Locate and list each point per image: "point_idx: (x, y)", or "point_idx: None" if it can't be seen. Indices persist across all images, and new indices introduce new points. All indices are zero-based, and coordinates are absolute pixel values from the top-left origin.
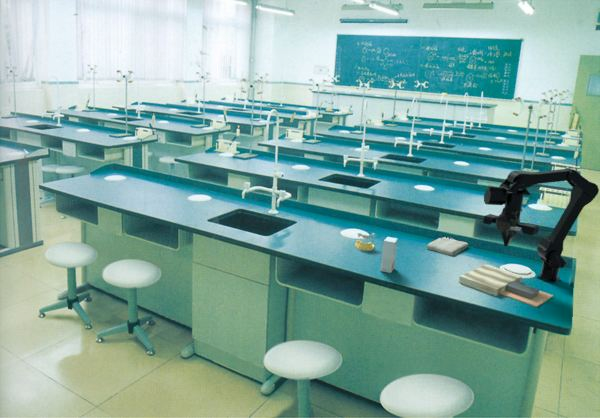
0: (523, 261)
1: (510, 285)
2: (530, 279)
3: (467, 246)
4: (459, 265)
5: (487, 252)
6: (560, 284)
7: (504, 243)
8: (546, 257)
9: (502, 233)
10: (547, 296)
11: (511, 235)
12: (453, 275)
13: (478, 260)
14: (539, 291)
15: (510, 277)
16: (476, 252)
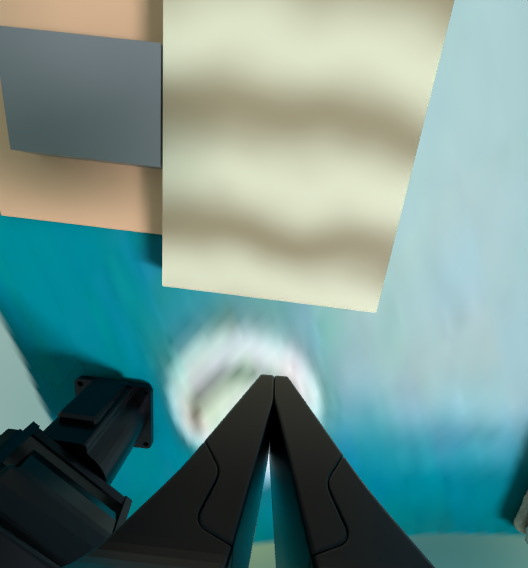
0: (262, 518)
1: (141, 62)
2: (162, 347)
3: (518, 528)
4: (505, 262)
5: (416, 521)
6: (60, 383)
7: (290, 392)
8: (18, 467)
9: (393, 550)
10: (7, 176)
11: (134, 533)
12: (508, 53)
13: (428, 405)
14: (60, 213)
15: (195, 207)
16: (461, 492)
